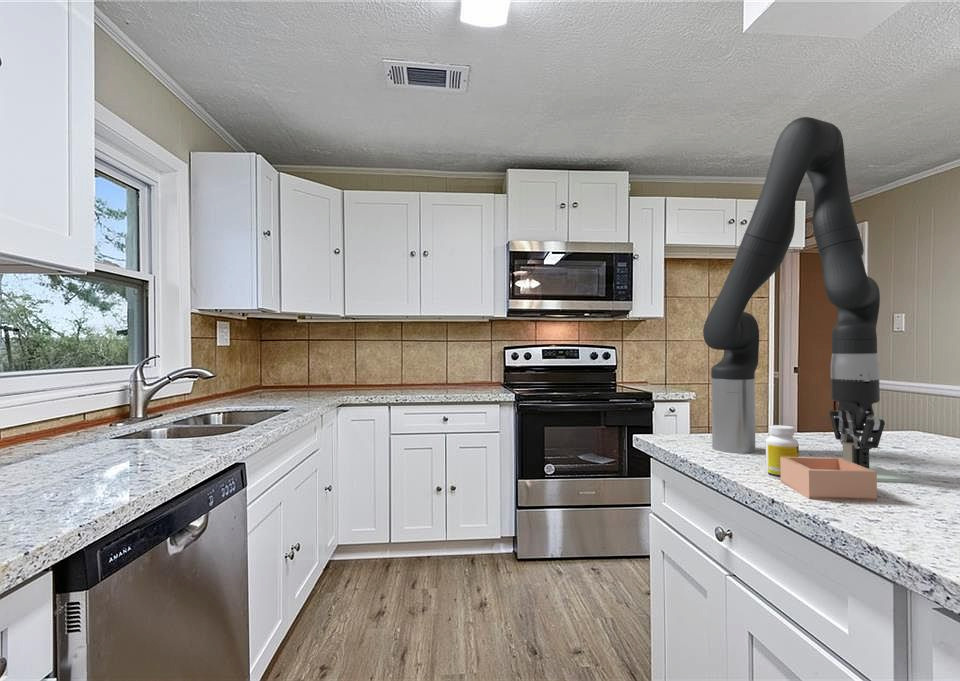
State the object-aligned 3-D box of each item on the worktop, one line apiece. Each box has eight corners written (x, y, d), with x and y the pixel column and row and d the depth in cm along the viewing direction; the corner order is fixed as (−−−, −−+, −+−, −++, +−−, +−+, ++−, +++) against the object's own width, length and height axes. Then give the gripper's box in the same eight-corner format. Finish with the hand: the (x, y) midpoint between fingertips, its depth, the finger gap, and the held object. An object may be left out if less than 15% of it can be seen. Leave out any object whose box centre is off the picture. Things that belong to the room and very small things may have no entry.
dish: (780, 484, 91) (780, 456, 91) (840, 485, 89) (840, 457, 89) (809, 501, 81) (808, 470, 81) (877, 503, 79) (876, 471, 80)
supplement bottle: (804, 483, 92) (803, 429, 92) (771, 481, 93) (771, 428, 93) (792, 475, 97) (791, 424, 97) (761, 474, 98) (760, 424, 98)
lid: (806, 465, 103) (806, 437, 103) (870, 466, 102) (869, 438, 102) (840, 480, 91) (839, 449, 91) (913, 482, 90) (912, 451, 90)
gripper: (814, 374, 104) (815, 458, 104) (855, 379, 90) (857, 475, 90) (853, 374, 103) (855, 458, 103) (901, 379, 89) (903, 476, 89)
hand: (856, 466), depth 96 cm, fingers closed on lid, 3 cm apart
